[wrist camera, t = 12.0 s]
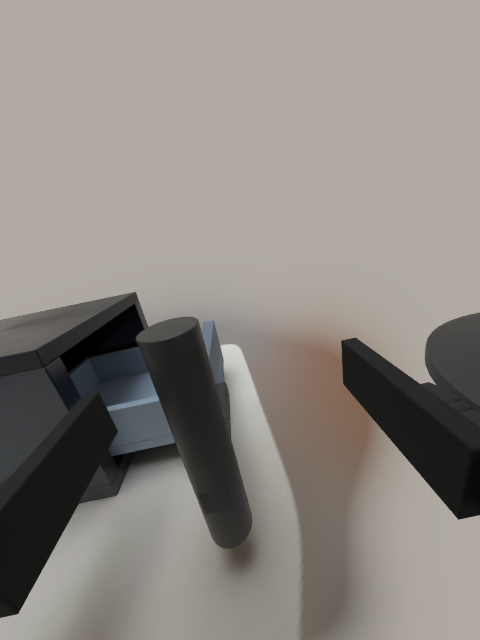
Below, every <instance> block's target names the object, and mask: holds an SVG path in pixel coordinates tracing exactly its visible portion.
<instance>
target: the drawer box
mask: <svg viewBox="0 0 480 640" xmlns="http://www.w3.org/2000/svg"><path fill="white" fill-rule="evenodd" d="M146 328H148V325H147V322H146V320H145V317H144V314H143V311H142V308H141V306H140V303H139V301H138V297H137V294H136V292H133V293H128V294H124V295H119V296H114V297H109V298H105V299H100V300H95V301H90V302H85V303H80V304H76V305H70V306H66V307H61V308H56V309H51V310H46V311H42V312H37V313H32V314H27V315H23V316H18V317H13V318H8V319H3V320H0V483H2V482H3V481H4V480H5V479H6V478H8V477H9V476H10V475H11V474H12V473H14V472H15V471H16V470H17V469H18V467H19V466H20V465H21V464H22V463H23V462H24V461H25V460H26V459H27V458H28V456H29V455H30V454H31V453H32V452H33V451H34V450H35V449H36V448H37V446H38V445H39V444H40V443H41V442H42V441H43V440H44V439H45V438H46V436H47V435H48V434H49V433H50V432H51V431H52V430H53V429H54V428H55V427H56V425H57V424H58V423H59V422H60V421H61V420H62V419H63V418H64V417H65V415H66V414H67V413H68V412H69V411H70V410H71V409H72V408H73V407H74V406H75V404H76V403H77V402H78V401H79V400H80V399H81V396H80V394H79V392H78V390H77V389H76V387H75V385H74V383H73V381H72V379H71V377H70V375H69V372H70V371H71V370H72V369H73V368H75V367H76V366H77V365H78V364H79V363H80V362H82V361H83V360H84V359H85V358H86V357H91V356H95V355H100V354H105V353H110V352H114V351H119V350H124V349H129V348H134V347H138V344H137V341H136V337H137V335H138V334H139V333H140V332H142V331H143V330H145V329H146ZM134 452H135V451H134ZM134 452H130V453H125V454H120V455H116V456H112V455H111V453H110V451H109V449H108V451H107V453H106V455H105V457H104V458H103V460H102V462H101V464H100V466H99V467H98V469H97V471H96V473H95V475H94V477H93V478H92V480H91V482H90V484H89V486H88V487H87V489H86V491H85V493H84V495H83V497H82V498H81V500H80V502H79V503H81V502H86V501H90V500H95V499H100V498H105V497H109V496H114V495H117V493H118V490H119V488H120V485H121V483H122V481H123V478H124V476H125V473H126V471H127V469H128V466H129V464H130V462H131V459H132V457H133V454H134Z"/></svg>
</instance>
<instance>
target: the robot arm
mask: <svg viewBox="0 0 480 640" xmlns="http://www.w3.org/2000/svg"><path fill="white" fill-rule="evenodd" d="M341 343H342V364H343V384H344V385H345V386H346V388H347V389H348V390H349V391H350V392H351V394H352V395H353V396H354V397H355V398H356V399H357V401H358V402H359V403H360V404H361V405H362V406H363V408H364V409H365V410H366V411H367V412H368V414H369V415H370V416H371V417H372V418H373V419H374V421H375V422H376V423H377V424H378V425H379V426H380V428H381V429H382V430H383V431H384V432H385V434H386V435H387V436H388V437H389V438H390V439H391V441H392V442H393V443H394V444H395V445H396V447H397V448H398V449H399V450H400V451H401V452H402V454H403V455H404V456H405V457H406V458H407V459H408V461H409V462H410V463H411V464H412V465H413V466H414V468H415V469H416V470H417V471H418V472H419V474H420V475H421V476H422V477H423V478H424V480H425V481H426V482H427V483H428V484H429V485H430V487H431V488H432V489H433V490H434V491H435V492H436V494H437V495H438V496H439V497H440V498H441V500H442V501H443V502H444V503H445V504H446V505H447V507H448V508H449V509H450V510H451V511H452V512H453V514H454V515H455V516H456V517H457V518H458V519H463V518H468V517H473V516H477V515H480V411H478V410H477V409H474V408H473V407H472V406H471V405H469V404H468V403H466V402H465V401H461V399H460V398H459V397H457V396H456V395H454V394H452V393H451V392H449V391H448V390H446V389H444V388H442V387H439V386H437V385H434V384H432V383H429V382H428V383H424V384H419V383H418V382H416V381H415V380H413V379H412V378H411V377H409V376H408V375H407V374H405V373H404V372H402V371H401V370H400V369H398V368H397V367H396V366H394V365H393V364H391V363H390V362H388V361H387V360H386V359H384V358H383V357H382V356H380V355H379V354H378V353H376V352H375V351H373V350H372V349H371V348H369V347H368V346H366V345H365V344H364V343H362V342H361V341H360V340H358V339H357V338H352V339H347V340H342V341H341ZM117 433H118V430H117V428H116V426H115V424H114V422H113V420H112V418H111V416H110V414H109V412H108V410H107V407H106V405H105V403H104V401H103V399H102V397H101V395H100V393H99V392H94V393H90V394H85V395H84V396H83V397H82V398H81V399H80V400H79V401H78V402H77V403H76V404H75V406H74V407H73V408H72V409H71V410H70V411H69V412H68V413H67V414H66V415H65V417H64V418H63V419H62V420H61V421H60V422H59V423H58V424H57V425H56V427H55V428H54V429H53V430H52V431H51V432H50V433H49V434H48V435H47V436H46V438H45V439H44V440H43V441H42V442H41V443H40V444H39V445H38V446H37V448H36V449H35V450H34V451H33V452H32V453H31V454H30V455H29V456H28V458H27V459H26V460H25V461H24V462H23V463H22V464H21V465H20V466H19V467H18V469H17V470H16V471H15V472H14V473H12V474H11V475H10V476H9V477H8V478H6V479H5V480H4V481H3V482H2V483H0V618H1V617H6V616H11V615H15V614H18V613H19V611H20V609H21V608H22V606H23V604H24V602H25V600H26V599H27V597H28V595H29V593H30V591H31V589H32V588H33V586H34V584H35V582H36V580H37V579H38V577H39V575H40V573H41V571H42V569H43V568H44V566H45V564H46V562H47V560H48V558H49V557H50V555H51V553H52V551H53V549H54V548H55V546H56V544H57V542H58V540H59V538H60V537H61V535H62V533H63V531H64V529H65V528H66V526H67V524H68V522H69V520H70V518H71V517H72V515H73V513H74V511H75V509H76V508H77V506H78V504H79V502H80V500H81V498H82V497H83V495H84V493H85V491H86V489H87V487H88V486H89V484H90V482H91V480H92V478H93V477H94V475H95V473H96V471H97V469H98V467H99V466H100V464H101V462H102V460H103V458H104V457H105V455H106V453H107V451H108V449H109V447H110V446H111V444H112V442H113V440H114V438H115V437H116V435H117Z"/></svg>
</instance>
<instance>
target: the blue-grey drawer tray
mask: <svg viewBox="0 0 480 640" xmlns="http://www.w3.org/2000/svg"><path fill="white" fill-rule="evenodd" d="M136 341H137V344H138V347H134V348H129V349H124V350H119V351H114V352H110V353H105V354H100V355H95V356H91V357H86V358H85V359H84V360H83V361H82V362H80V363H79V364H78V365H77V366H76V367H75V368H73V369H72V370H71V371H70V372H69V375H70V377H71V379H72V381H73V383H74V385H75V387H76V389H77V390H78V392H79V394H80V396H81V398H82V397H83V396H84V395H85V394H90V393H94V392H99V393H100V395H101V397H102V399H103V401H104V403H105V405H106V407H107V410H108V412H109V414H110V416H111V418H112V420H113V422H114V424H115V426H116V428H117V430H118V433H117V435H116V437H115V438H114V440H113V442H112V444H111V446H110V447H109V451H110V453H111V455H112V456H116V455H120V454H125V453H130V452H134V451H139V450H144V449H149V448H153V447H158V446H163V445H168V444H172V443H176V445H177V448H178V450H179V453H180V455H181V458H182V461H183V463H184V466H185V468H186V471H187V474H188V476H189V479H190V481H191V484H192V487H193V489H194V492H195V494H196V497H197V500H198V502H199V505H200V507H201V510H202V513H203V515H204V518H205V520H206V523H207V525H208V528H209V531H210V533H211V536H212V538H213V540H214V542H215V543H216V544H217V545H218V546H220V547H222V548H226V549H231V548H235V547H237V546H239V545H240V544H241V543H242V542H243V541H244V540H245V539H246V538H247V536H248V534H249V532H250V529H251V524H252V515H251V511H250V507H249V504H248V500H247V496H246V493H245V489H244V485H243V482H242V478H241V474H240V471H239V467H238V463H237V460H236V456H235V452H234V449H233V445H232V441H231V427H230V403H229V393H228V389H227V385H226V383H225V382H224V370H223V356H222V352H221V348H220V344H219V340H218V336H217V332H216V328H215V324H214V321H210V322H204V326H203V330H202V332H201V328H200V324H199V321H198V319H196V318H194V317H179V318H174V319H169V320H166V321H163V322H160V323H157V324H155V325H152V326H150V327H148V328H146V329H145V330H143V331H142V332H140V333H139V334H138V335H137V337H136Z"/></svg>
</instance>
